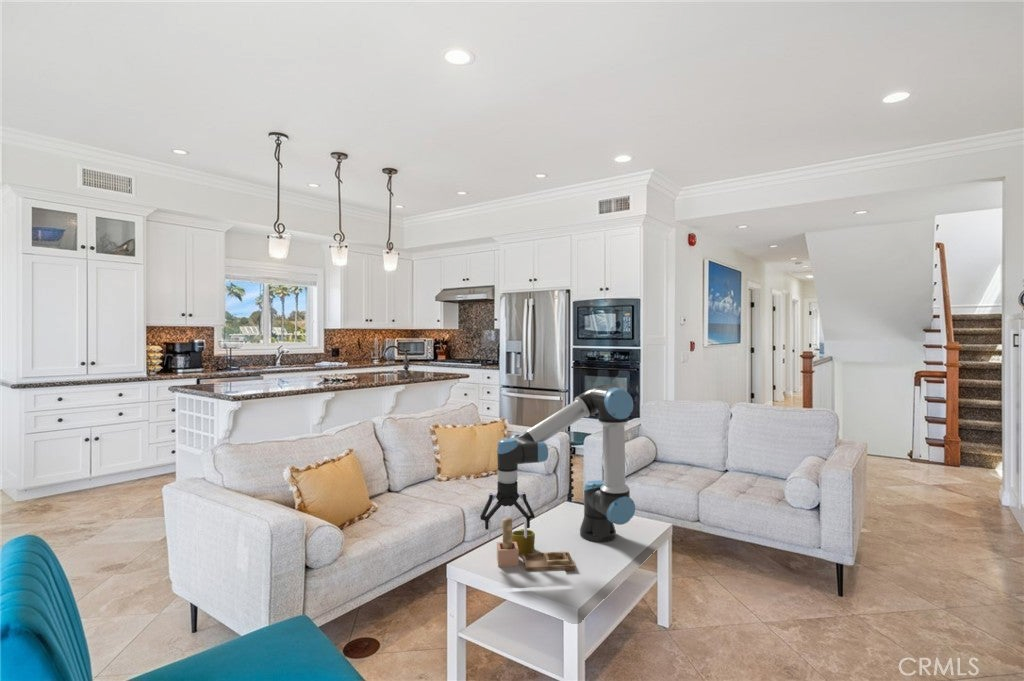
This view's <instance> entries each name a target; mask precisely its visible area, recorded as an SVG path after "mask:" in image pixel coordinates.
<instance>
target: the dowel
mask: <svg viewBox="0 0 1024 681" xmlns="http://www.w3.org/2000/svg"><path fill="white" fill-rule="evenodd" d="M512 532H513V518H511V517H504V518H502V542H503V549H512Z"/></svg>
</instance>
